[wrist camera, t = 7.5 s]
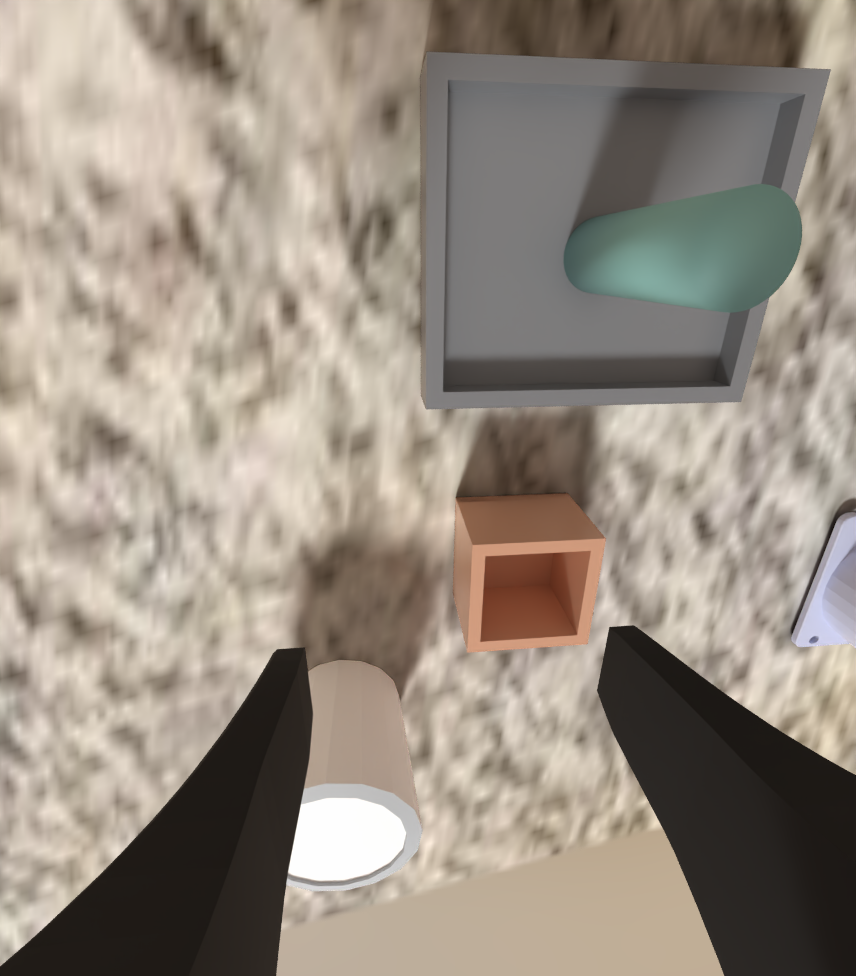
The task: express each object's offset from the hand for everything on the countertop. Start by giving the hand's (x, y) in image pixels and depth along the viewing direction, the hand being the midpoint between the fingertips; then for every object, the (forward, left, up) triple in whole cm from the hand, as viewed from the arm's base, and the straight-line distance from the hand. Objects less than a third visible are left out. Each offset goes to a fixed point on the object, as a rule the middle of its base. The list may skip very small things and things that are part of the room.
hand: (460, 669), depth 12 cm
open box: (-4, +3, -10) cm, 12 cm away
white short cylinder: (+4, +12, -11) cm, 17 cm away
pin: (-6, -9, -9) cm, 14 cm away
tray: (-6, -9, -10) cm, 15 cm away
